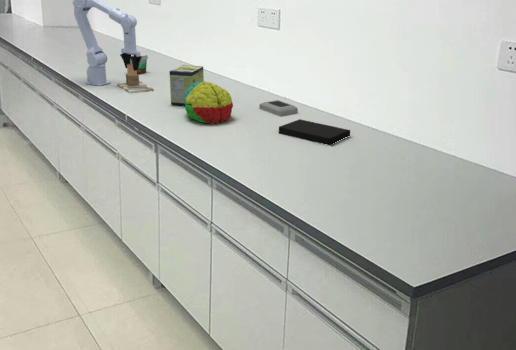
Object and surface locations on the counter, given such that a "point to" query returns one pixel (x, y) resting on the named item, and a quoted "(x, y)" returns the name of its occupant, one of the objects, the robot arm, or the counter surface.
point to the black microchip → (314, 131)
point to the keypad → (278, 108)
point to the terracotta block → (131, 70)
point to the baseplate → (134, 85)
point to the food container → (142, 65)
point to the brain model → (208, 103)
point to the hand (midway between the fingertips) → (131, 69)
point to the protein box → (183, 82)
